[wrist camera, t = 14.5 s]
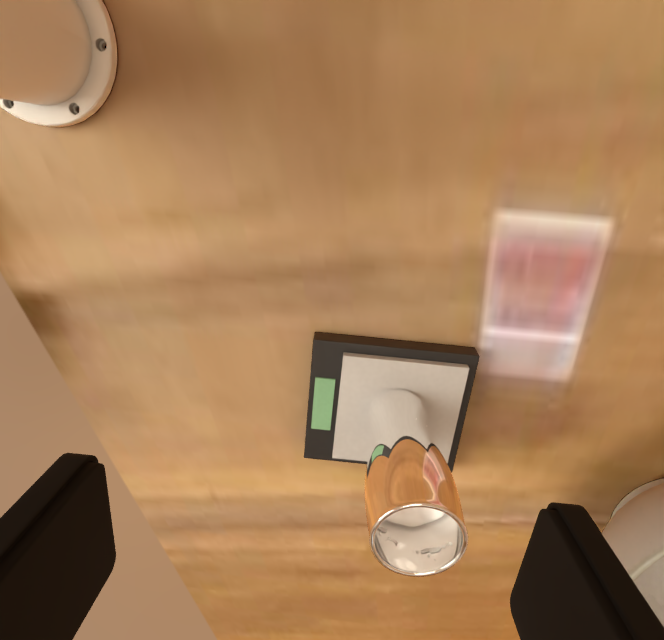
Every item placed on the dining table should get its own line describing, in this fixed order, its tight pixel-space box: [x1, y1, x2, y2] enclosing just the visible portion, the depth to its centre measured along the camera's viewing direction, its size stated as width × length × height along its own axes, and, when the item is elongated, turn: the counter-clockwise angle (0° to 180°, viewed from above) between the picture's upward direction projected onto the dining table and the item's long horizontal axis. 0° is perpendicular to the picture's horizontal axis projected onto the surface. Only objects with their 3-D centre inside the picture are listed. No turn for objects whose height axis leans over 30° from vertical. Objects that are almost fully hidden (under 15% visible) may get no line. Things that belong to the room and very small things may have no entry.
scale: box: [304, 332, 480, 473], centre depth 44 cm, size 16×14×3 cm
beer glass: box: [365, 389, 468, 577], centre depth 35 cm, size 7×7×15 cm
